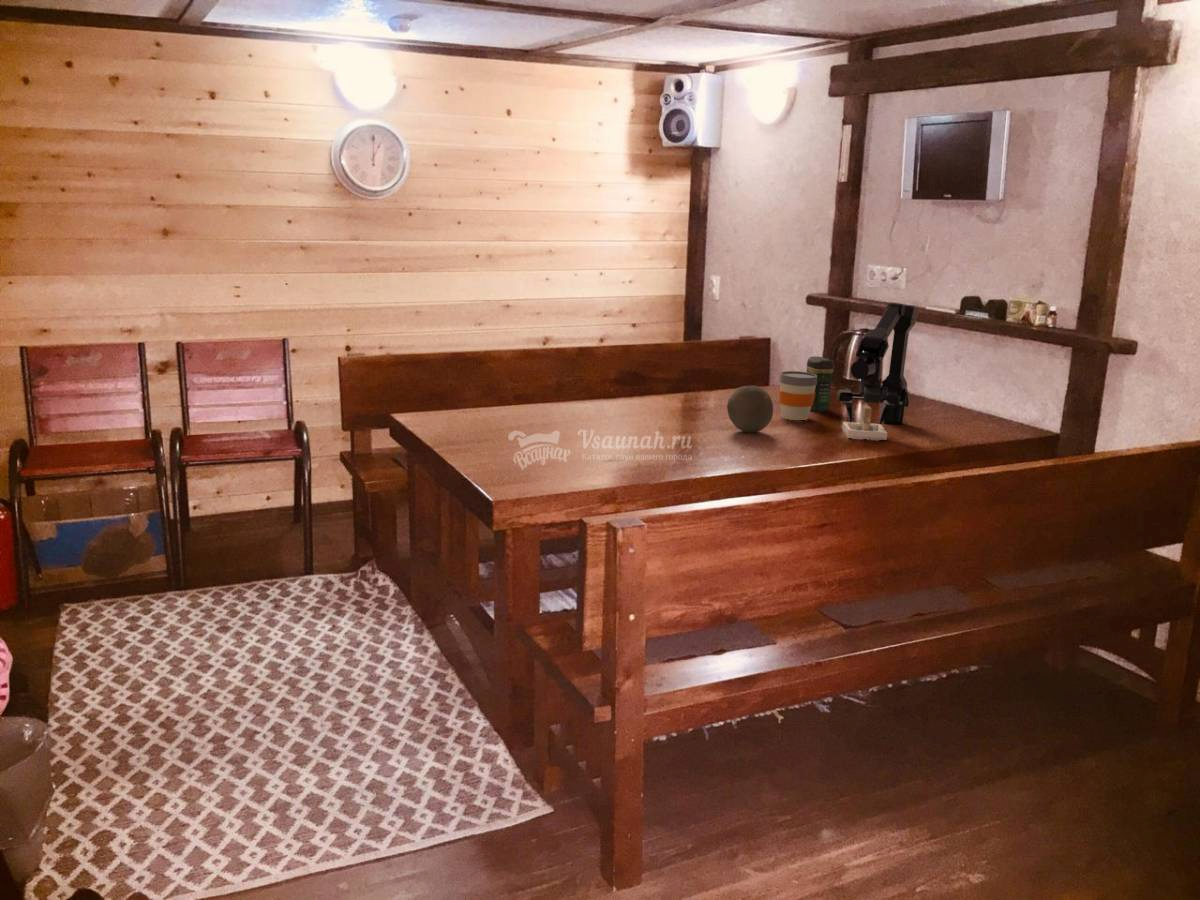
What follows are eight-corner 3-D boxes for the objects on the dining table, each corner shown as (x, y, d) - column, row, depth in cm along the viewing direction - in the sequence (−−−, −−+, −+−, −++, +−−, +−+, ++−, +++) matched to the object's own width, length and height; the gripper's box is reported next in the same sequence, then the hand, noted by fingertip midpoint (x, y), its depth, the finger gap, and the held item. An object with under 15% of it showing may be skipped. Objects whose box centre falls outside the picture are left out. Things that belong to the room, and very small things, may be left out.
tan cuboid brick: (866, 430, 317) (869, 406, 315) (868, 433, 313) (871, 409, 311) (860, 430, 317) (862, 405, 315) (862, 433, 313) (865, 408, 311)
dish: (879, 431, 321) (880, 422, 320) (886, 441, 309) (887, 431, 309) (842, 429, 322) (843, 420, 321) (847, 438, 310) (848, 428, 310)
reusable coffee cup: (801, 413, 343) (806, 370, 339) (820, 421, 332) (825, 377, 328) (769, 414, 339) (773, 371, 335) (787, 422, 328) (791, 378, 324)
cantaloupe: (733, 425, 321) (737, 379, 317) (776, 431, 315) (780, 385, 311) (719, 434, 309) (723, 386, 305) (763, 440, 303) (767, 392, 299)
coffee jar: (832, 411, 348) (838, 359, 343) (812, 412, 346) (818, 359, 341) (818, 405, 357) (823, 354, 352) (799, 406, 354) (804, 355, 350)
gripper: (844, 378, 304) (839, 427, 308) (906, 381, 302) (900, 431, 306) (839, 371, 314) (834, 419, 318) (899, 375, 313) (893, 423, 317)
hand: (865, 423), depth 315 cm, fingers open, 9 cm apart
